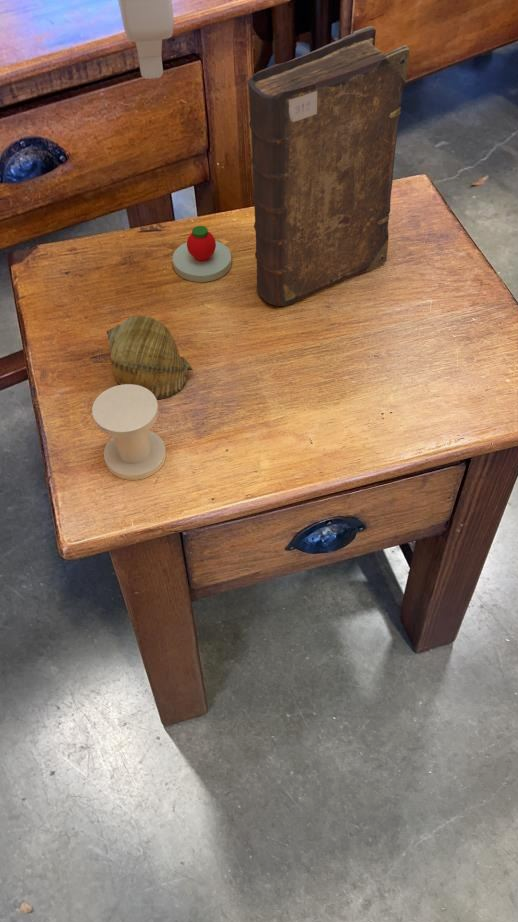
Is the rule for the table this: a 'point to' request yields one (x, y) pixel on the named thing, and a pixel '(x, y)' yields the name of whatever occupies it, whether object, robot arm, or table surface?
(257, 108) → the book
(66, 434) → the table surface
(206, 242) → the strawberry
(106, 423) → the stand
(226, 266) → the plate
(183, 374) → the seashell
